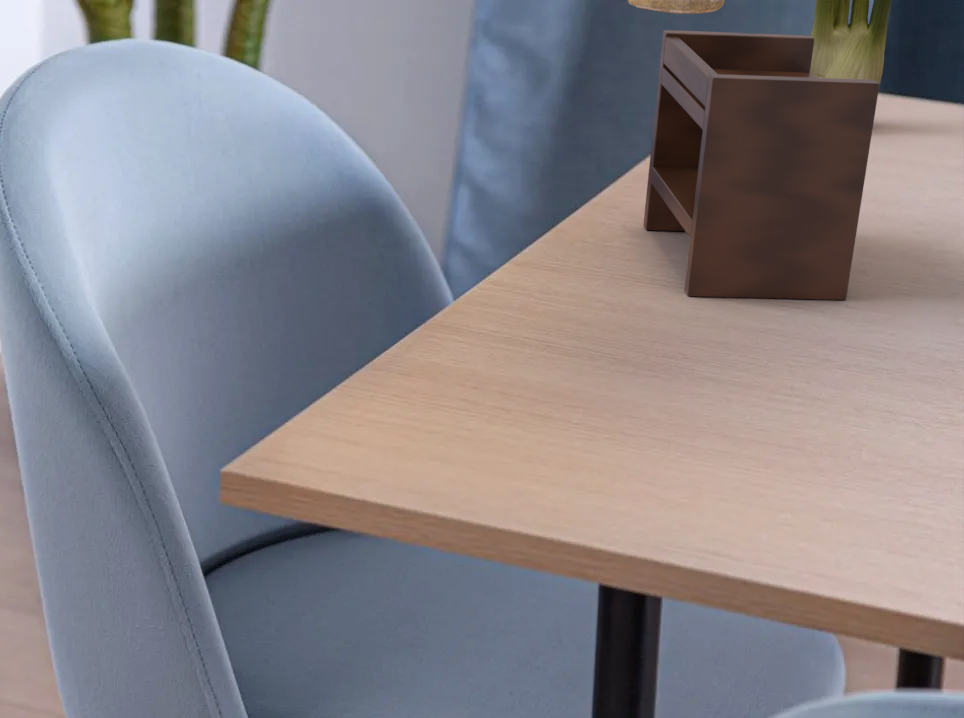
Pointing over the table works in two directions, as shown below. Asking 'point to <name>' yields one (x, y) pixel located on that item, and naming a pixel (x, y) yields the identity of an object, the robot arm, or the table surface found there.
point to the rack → (758, 164)
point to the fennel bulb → (849, 39)
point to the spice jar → (679, 5)
